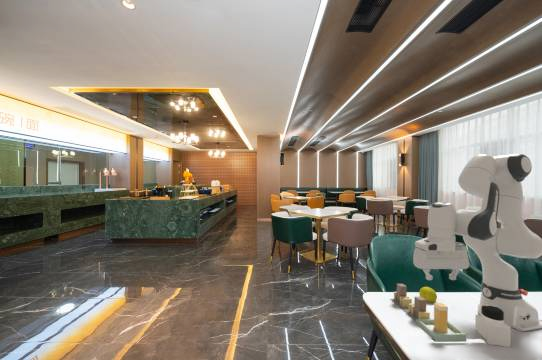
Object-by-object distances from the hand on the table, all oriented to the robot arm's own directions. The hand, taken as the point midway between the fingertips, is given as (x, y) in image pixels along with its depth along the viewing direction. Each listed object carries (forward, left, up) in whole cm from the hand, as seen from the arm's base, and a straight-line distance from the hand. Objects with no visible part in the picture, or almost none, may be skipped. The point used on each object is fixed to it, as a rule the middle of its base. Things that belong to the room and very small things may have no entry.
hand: (440, 279), depth 91 cm
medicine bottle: (-17, +4, -21) cm, 27 cm away
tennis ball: (-13, -24, -21) cm, 34 cm away
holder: (+2, -15, -21) cm, 26 cm away
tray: (0, 0, -21) cm, 21 cm away
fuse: (0, 0, -20) cm, 20 cm away
